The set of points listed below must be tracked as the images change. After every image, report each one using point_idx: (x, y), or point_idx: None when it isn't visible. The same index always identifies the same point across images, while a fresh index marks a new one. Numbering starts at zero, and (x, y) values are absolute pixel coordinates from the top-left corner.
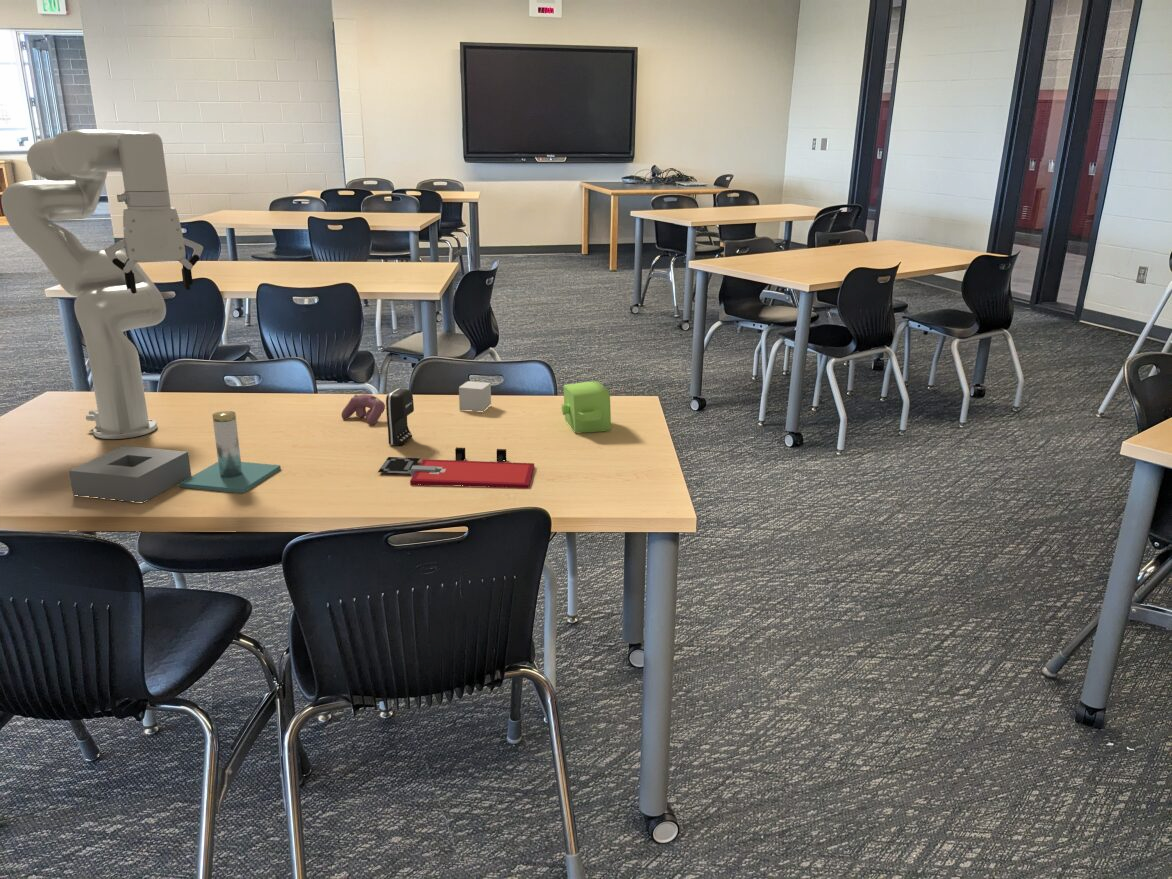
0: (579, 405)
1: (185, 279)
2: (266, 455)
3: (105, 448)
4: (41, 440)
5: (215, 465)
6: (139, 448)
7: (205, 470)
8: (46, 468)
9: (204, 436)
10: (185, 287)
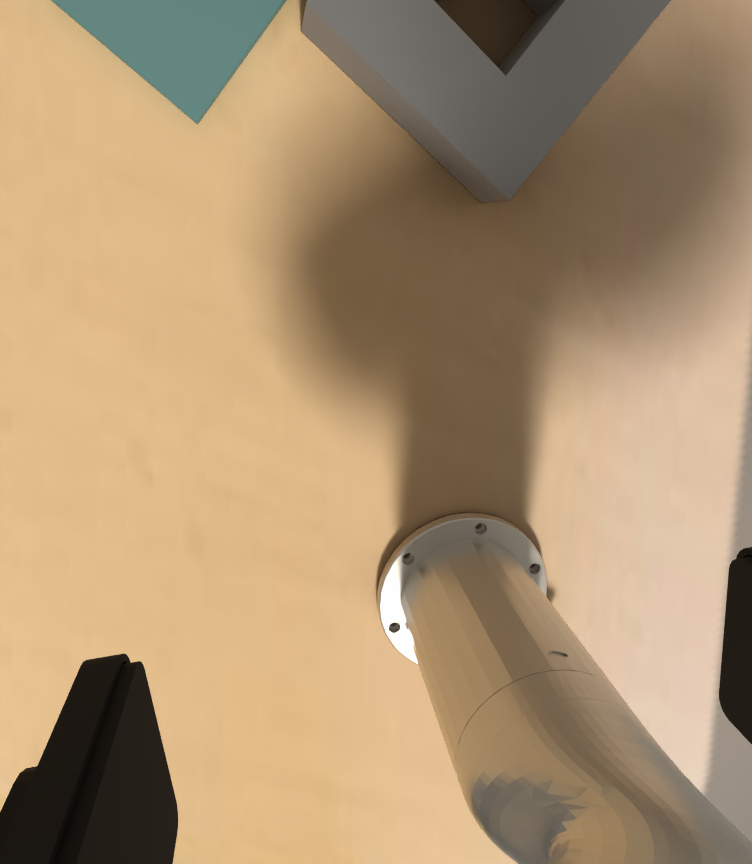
0: None
1: (101, 762)
2: (35, 147)
3: (522, 446)
4: (660, 579)
5: (217, 63)
6: (464, 138)
7: (253, 22)
8: (672, 324)
9: (243, 456)
10: (149, 717)
